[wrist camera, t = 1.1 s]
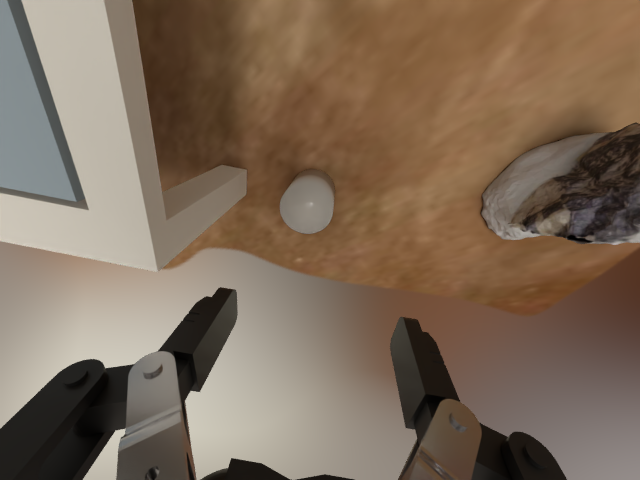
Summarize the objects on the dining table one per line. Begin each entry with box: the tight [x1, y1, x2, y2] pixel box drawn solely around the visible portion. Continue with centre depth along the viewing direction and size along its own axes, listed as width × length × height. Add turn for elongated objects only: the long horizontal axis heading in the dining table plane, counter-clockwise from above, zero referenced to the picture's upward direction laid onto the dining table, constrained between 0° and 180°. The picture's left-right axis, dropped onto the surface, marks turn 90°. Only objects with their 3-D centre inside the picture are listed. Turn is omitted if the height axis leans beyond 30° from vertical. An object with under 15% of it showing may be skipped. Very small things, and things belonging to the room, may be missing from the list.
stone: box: [481, 123, 640, 245], centre depth 21 cm, size 14×10×15 cm
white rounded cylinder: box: [280, 169, 335, 234], centre depth 26 cm, size 5×5×6 cm
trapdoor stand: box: [0, 0, 247, 272], centre depth 17 cm, size 22×22×16 cm
